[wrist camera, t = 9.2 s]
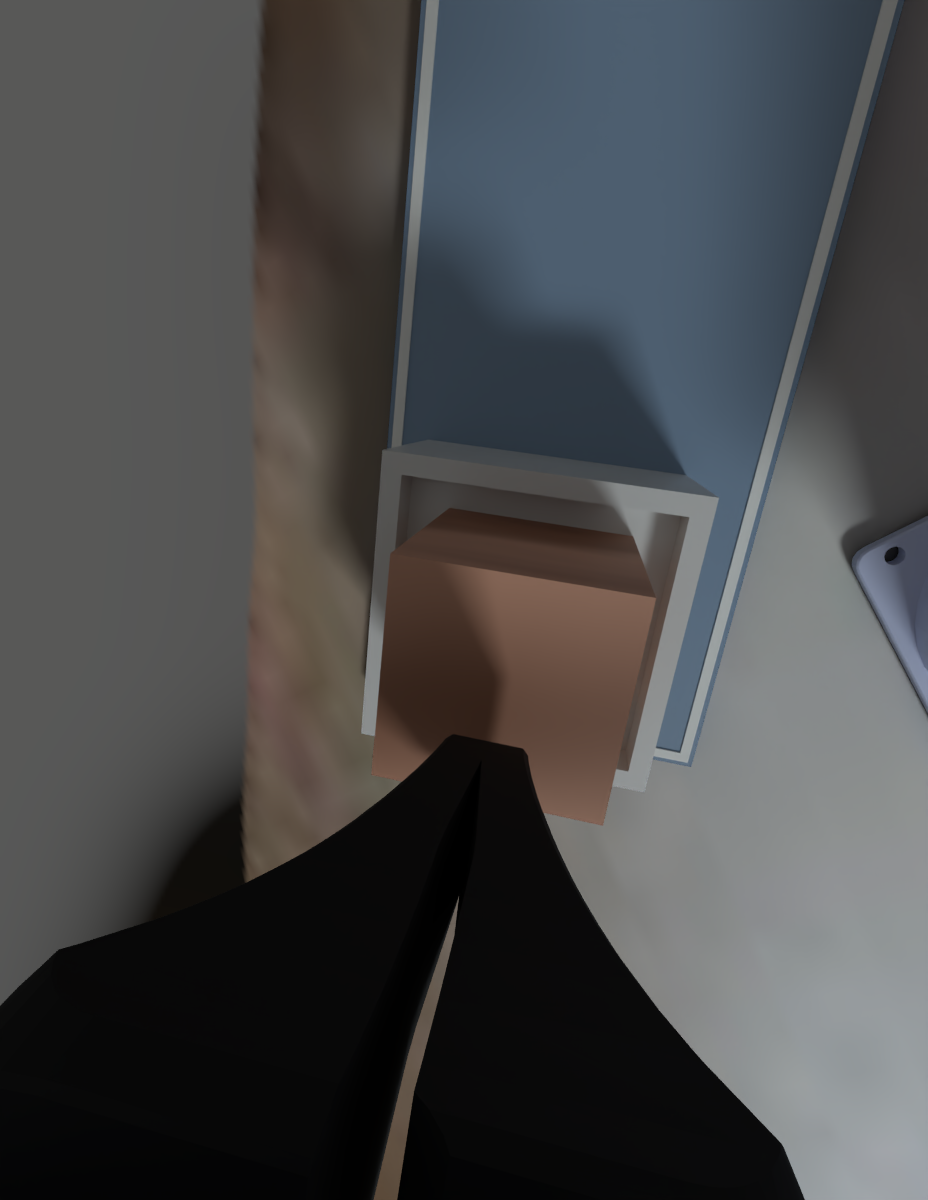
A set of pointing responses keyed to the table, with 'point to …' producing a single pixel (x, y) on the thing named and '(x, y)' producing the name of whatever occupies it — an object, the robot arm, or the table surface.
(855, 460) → the table surface
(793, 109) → the board
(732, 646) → the table surface
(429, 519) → the socket pedestal
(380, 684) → the terracotta block
